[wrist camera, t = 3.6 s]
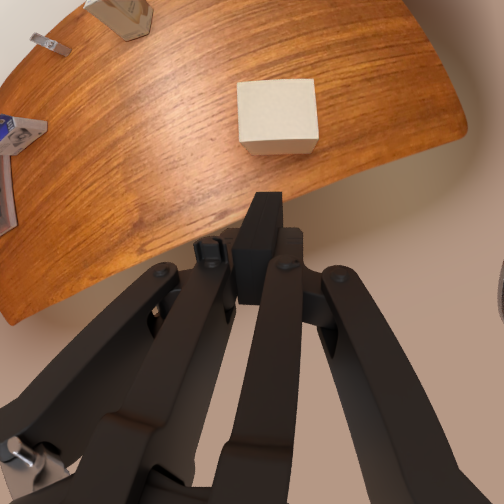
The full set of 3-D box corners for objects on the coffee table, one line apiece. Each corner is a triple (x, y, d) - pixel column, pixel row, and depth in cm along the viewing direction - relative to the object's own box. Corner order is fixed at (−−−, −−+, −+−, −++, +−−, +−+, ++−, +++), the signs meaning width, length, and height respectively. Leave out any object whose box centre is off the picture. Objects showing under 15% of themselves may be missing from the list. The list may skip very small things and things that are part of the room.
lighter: (72, 49, 31) (44, 36, 23) (66, 57, 31) (39, 44, 23) (57, 43, 31) (32, 31, 23) (52, 50, 31) (27, 39, 23)
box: (311, 153, 31) (319, 139, 22) (252, 155, 32) (239, 142, 23) (307, 107, 30) (313, 78, 21) (250, 109, 31) (236, 82, 22)
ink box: (16, 157, 36) (-27, 156, 25) (16, 146, 36) (-26, 145, 25) (48, 131, 35) (0, 125, 23) (48, 120, 34) (1, 112, 23)
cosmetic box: (149, 34, 29) (108, -4, 17) (125, 42, 30) (81, 10, 18) (154, 7, 28) (118, -32, 16) (131, 15, 29) (92, -19, 17)
